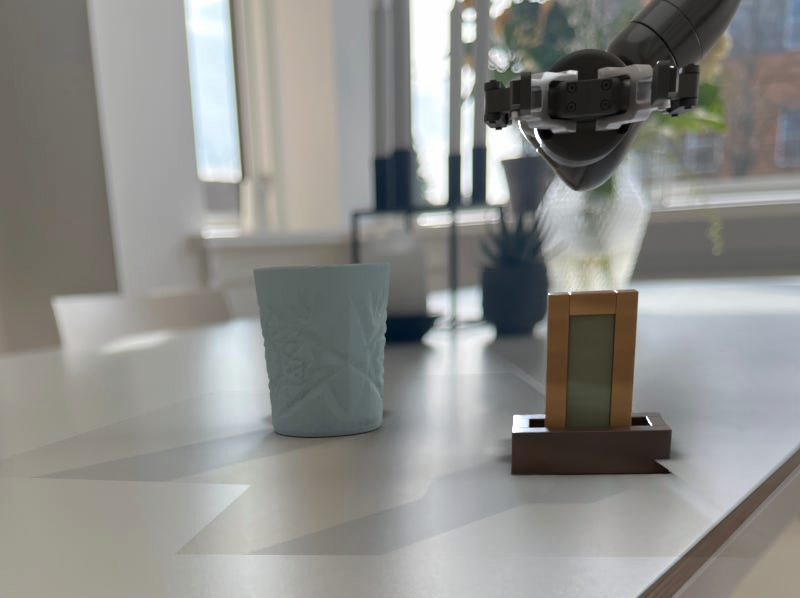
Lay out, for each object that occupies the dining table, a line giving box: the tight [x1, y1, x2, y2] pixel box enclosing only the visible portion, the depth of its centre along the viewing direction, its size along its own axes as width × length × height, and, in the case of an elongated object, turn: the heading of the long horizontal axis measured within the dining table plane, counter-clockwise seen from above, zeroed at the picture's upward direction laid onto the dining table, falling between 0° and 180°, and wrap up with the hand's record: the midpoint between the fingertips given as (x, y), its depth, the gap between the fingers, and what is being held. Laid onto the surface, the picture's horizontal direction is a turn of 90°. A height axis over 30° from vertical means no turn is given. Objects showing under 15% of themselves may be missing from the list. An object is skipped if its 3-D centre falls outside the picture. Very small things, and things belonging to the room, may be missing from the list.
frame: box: [544, 288, 640, 427], centre depth 62 cm, size 2×5×10 cm, turn 79°
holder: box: [510, 411, 673, 475], centre depth 63 cm, size 6×9×2 cm
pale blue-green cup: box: [252, 262, 391, 438], centre depth 79 cm, size 10×10×12 cm
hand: (593, 84), depth 66 cm, fingers open, 8 cm apart
